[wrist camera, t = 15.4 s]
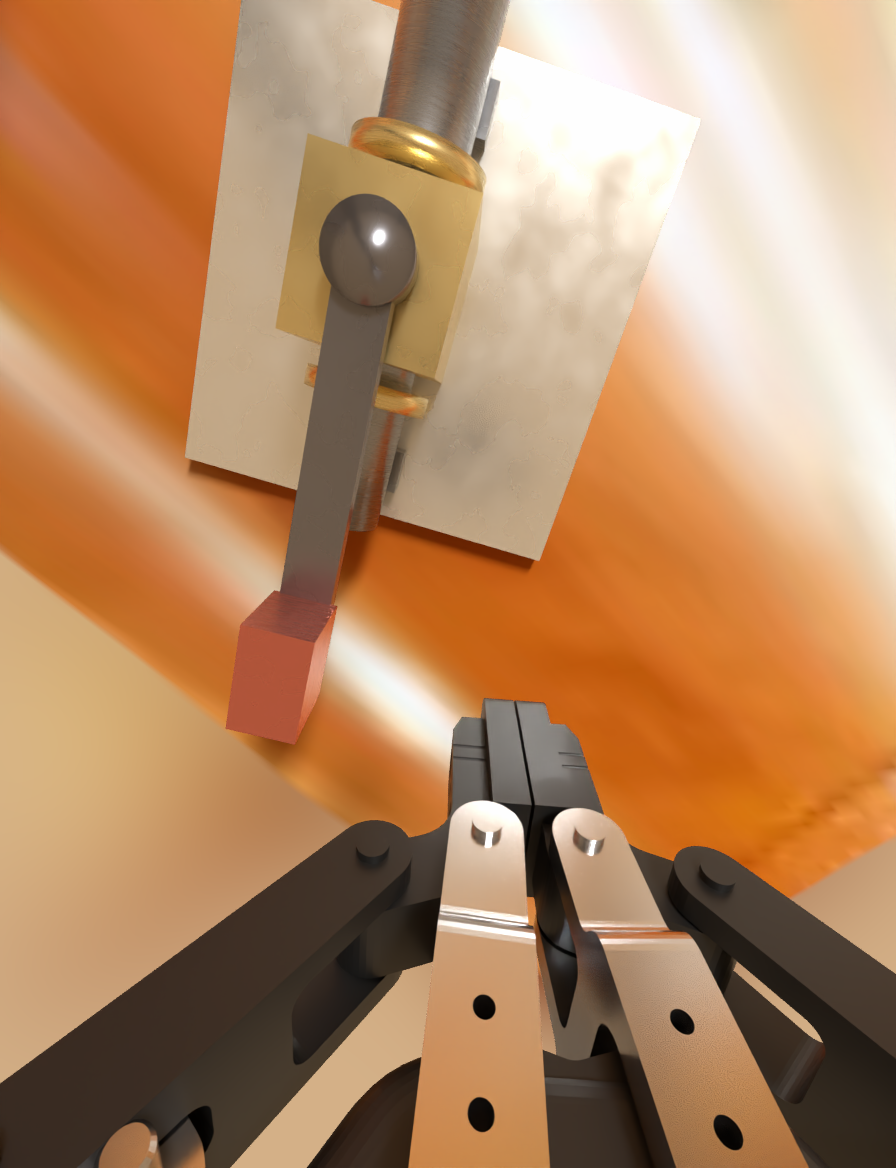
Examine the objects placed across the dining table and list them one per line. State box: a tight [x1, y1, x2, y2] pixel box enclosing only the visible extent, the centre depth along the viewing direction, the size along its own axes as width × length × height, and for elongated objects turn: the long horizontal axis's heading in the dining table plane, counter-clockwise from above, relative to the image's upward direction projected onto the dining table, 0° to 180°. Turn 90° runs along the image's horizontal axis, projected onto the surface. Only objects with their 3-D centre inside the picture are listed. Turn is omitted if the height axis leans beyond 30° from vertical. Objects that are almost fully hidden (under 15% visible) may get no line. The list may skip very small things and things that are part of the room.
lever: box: [226, 194, 419, 745], centre depth 22 cm, size 21×4×5 cm, turn 165°
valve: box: [185, 0, 701, 561], centre depth 26 cm, size 24×23×10 cm
